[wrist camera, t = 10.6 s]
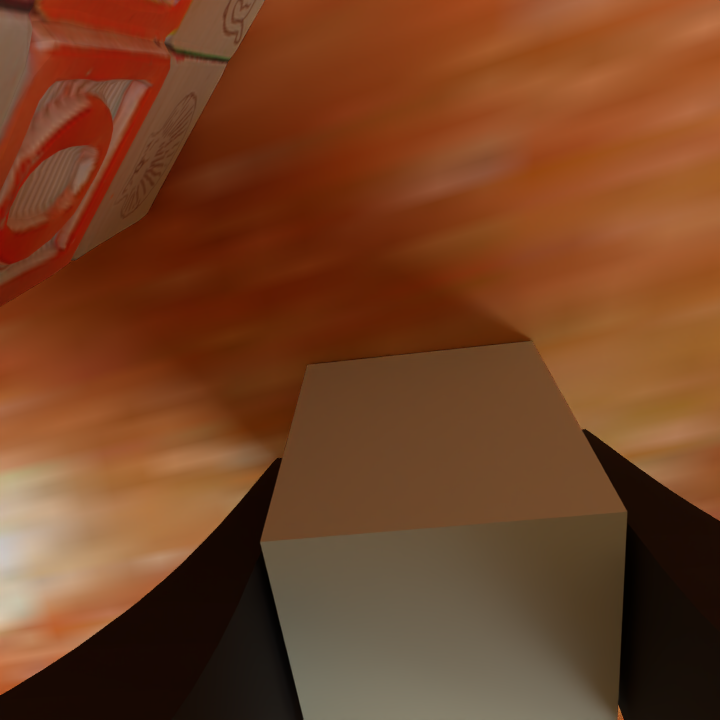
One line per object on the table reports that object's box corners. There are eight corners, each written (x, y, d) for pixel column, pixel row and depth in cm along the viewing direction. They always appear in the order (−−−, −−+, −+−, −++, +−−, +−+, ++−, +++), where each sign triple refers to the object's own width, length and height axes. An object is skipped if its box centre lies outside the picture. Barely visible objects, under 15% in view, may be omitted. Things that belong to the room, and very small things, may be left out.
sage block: (536, 523, 13) (615, 757, 9) (339, 539, 14) (317, 771, 9) (531, 340, 12) (627, 511, 7) (307, 364, 12) (260, 541, 7)
